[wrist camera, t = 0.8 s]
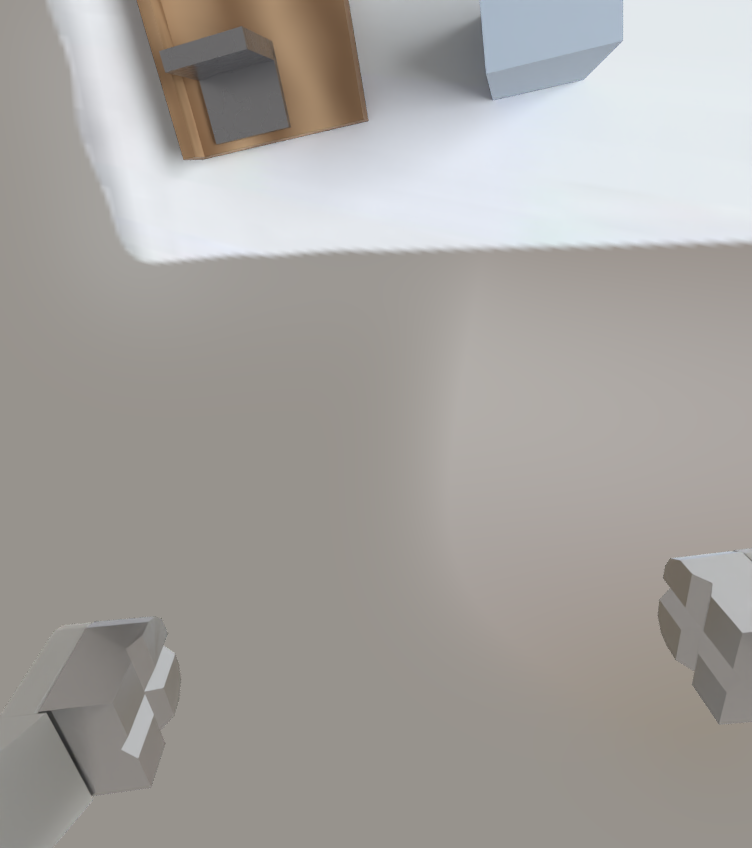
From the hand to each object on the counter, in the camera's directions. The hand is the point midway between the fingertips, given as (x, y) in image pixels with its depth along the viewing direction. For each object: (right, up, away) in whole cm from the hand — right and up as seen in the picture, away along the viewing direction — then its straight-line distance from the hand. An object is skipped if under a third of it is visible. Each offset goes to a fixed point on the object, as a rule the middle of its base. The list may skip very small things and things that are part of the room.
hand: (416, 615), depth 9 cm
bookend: (-10, +27, +31) cm, 43 cm away
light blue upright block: (+10, +28, +27) cm, 41 cm away
